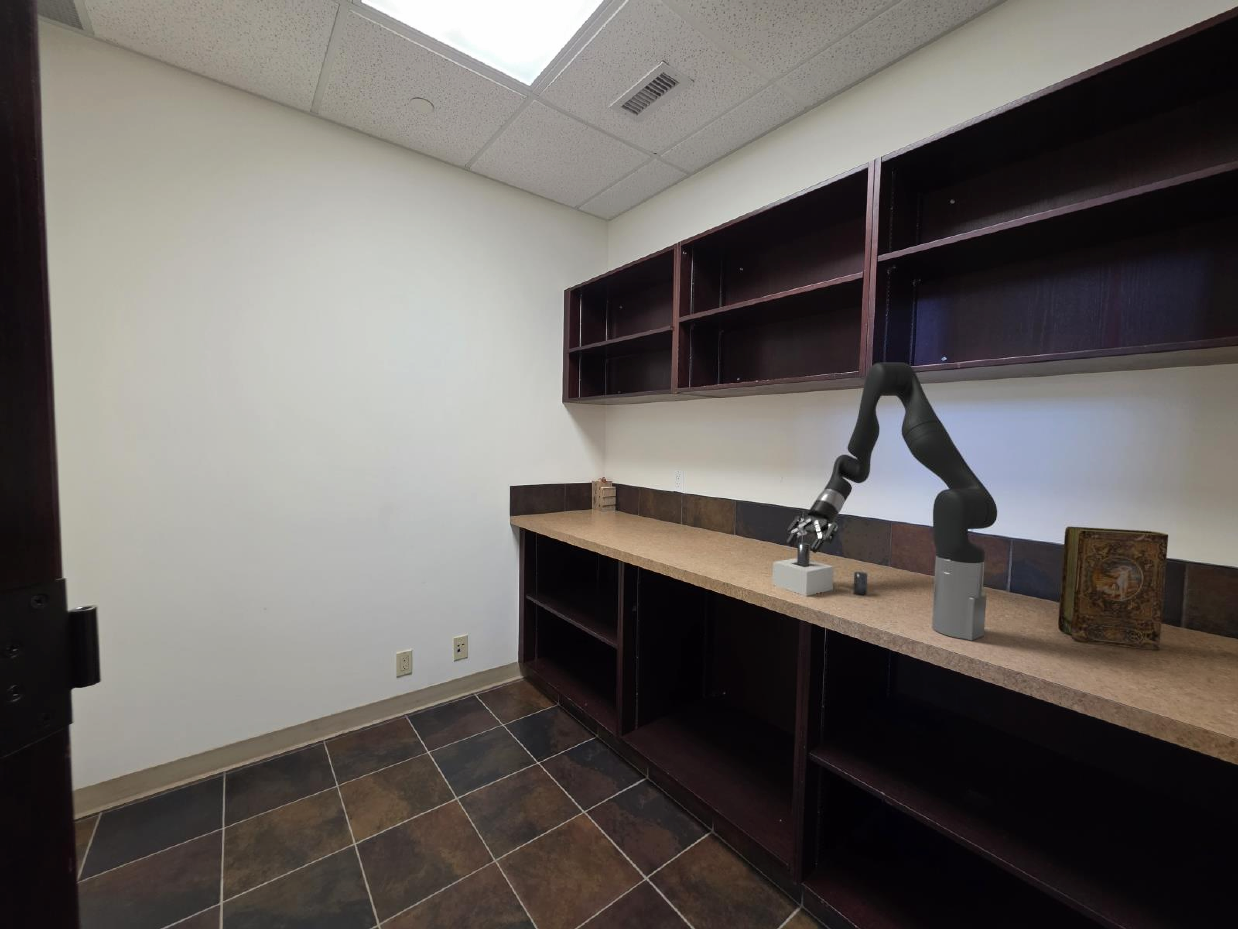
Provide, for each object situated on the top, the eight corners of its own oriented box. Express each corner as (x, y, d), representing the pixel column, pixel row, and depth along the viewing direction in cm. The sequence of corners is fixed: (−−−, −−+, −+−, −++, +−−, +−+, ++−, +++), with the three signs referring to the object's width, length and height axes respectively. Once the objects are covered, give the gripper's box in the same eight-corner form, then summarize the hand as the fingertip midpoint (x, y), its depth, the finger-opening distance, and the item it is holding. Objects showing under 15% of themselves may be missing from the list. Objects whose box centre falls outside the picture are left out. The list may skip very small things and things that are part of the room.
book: (1146, 641, 111) (1154, 531, 110) (1164, 651, 106) (1174, 535, 104) (1057, 631, 116) (1064, 526, 114) (1071, 641, 110) (1078, 530, 109)
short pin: (869, 594, 141) (870, 573, 141) (862, 596, 140) (863, 575, 139) (857, 591, 144) (858, 571, 144) (850, 593, 143) (851, 572, 142)
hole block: (832, 590, 145) (833, 566, 145) (806, 596, 139) (807, 571, 138) (798, 579, 155) (799, 557, 155) (772, 585, 149) (773, 562, 148)
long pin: (810, 588, 146) (812, 544, 146) (803, 589, 145) (804, 546, 144) (801, 585, 149) (802, 542, 149) (793, 586, 148) (795, 543, 147)
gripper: (801, 496, 155) (775, 535, 150) (843, 501, 143) (816, 544, 138) (812, 512, 159) (786, 551, 153) (853, 518, 146) (827, 561, 141)
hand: (800, 548), depth 146 cm, fingers open, 8 cm apart
